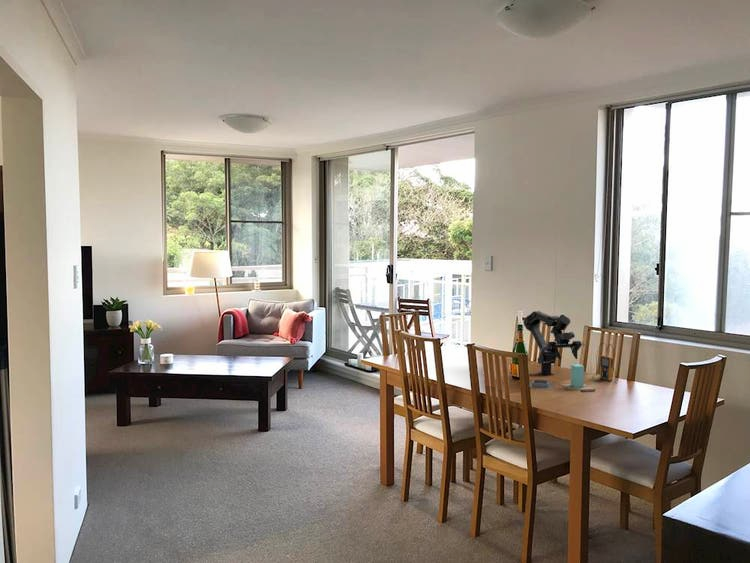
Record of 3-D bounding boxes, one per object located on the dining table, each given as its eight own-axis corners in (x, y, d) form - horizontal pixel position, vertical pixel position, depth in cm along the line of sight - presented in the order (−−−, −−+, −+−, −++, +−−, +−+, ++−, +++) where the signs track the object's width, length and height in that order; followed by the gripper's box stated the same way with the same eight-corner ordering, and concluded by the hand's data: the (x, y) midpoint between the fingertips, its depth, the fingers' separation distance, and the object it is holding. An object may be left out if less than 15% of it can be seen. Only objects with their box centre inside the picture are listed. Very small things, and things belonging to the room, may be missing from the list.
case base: (531, 383, 316) (531, 377, 315) (552, 385, 312) (552, 379, 311) (528, 389, 302) (528, 383, 302) (550, 391, 299) (550, 385, 298)
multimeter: (584, 377, 329) (585, 342, 327) (598, 376, 333) (599, 341, 331) (604, 383, 315) (605, 346, 314) (618, 382, 319) (619, 345, 318)
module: (570, 385, 306) (571, 364, 306) (578, 385, 307) (579, 364, 306) (575, 387, 302) (575, 366, 301) (583, 387, 302) (584, 366, 301)
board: (559, 386, 310) (559, 383, 310) (582, 385, 312) (582, 382, 312) (571, 392, 297) (571, 389, 297) (595, 391, 299) (595, 388, 299)
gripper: (548, 326, 316) (557, 351, 305) (580, 326, 319) (590, 350, 308) (541, 339, 324) (550, 362, 314) (573, 338, 327) (582, 361, 317)
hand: (568, 359), depth 313 cm, fingers open, 9 cm apart
